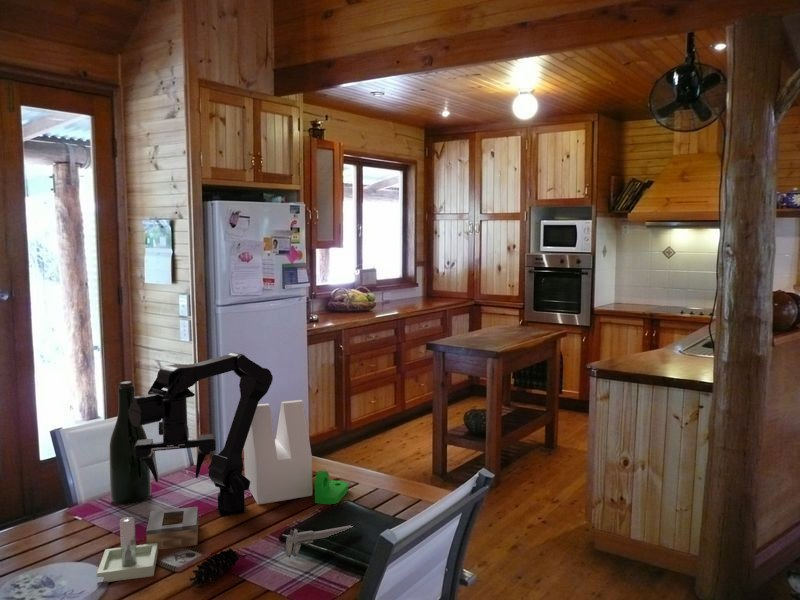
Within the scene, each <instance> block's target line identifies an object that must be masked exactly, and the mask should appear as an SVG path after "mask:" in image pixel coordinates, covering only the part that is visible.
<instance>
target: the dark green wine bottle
mask: <svg viewBox="0 0 800 600" xmlns="http://www.w3.org/2000/svg"><path fill="white" fill-rule="evenodd" d="M117 394H118V395H117V396H118V408H117V409H118V411H117V417H116V422H115V424H114V428H113V430H112V433H111V436H110V441H109V451H108V452H109V455H108V456H109V459H108V460H109V485H110V486H109V489H110V491H109V493H110V500H111V502H112V503H113V504H116V505H122V506H124V505H125V506H127V505H134V504H138V503H141V502H144V501H146V500H148V499H149V498H150V497H151V495H152V481H151V477H152V476H151V470H150V468H149V467H148V465H147V464H146V463H145V461H140V458H135V457H134V446H135V443H136V442H137V441H138V440H145V439H148V436H147V433H146V431H145V428H144V427H143V426H144V425H142V426H137V427H135V426H134V425H133V424H132V423H131V421H130V419H129V414H128V410H129V408H130V405H131V403H132V402H133V397H136V388H135V386H134V385H133V381H131V380H128V381H127V380H126V381H125V380H124V381H121V382H119V386H118V388H117Z"/></svg>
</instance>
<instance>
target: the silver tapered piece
mask: <svg viewBox="0 0 800 600" xmlns="http://www.w3.org/2000/svg"><path fill="white" fill-rule="evenodd" d="M135 523H136V521H135V517H133V516H126V517H123V518H121V519H119V532H120V534H119V536H120V547H121V559H122V566H123V567H131V566H134V565H135V564H136V563H137V560H136V545H137V542H136V540H137V539H136V524H135Z"/></svg>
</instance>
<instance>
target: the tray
mask: <svg viewBox="0 0 800 600" xmlns="http://www.w3.org/2000/svg"><path fill="white" fill-rule="evenodd" d="M158 554H159V550H158V543H152V544H147V543H144V544H139V545H137V544H136V560H137V563H136V564H135V565H134V566H131V567H123V566H122V559H121V546H120V547H114V548H105V550H104V552H103V555H102V558H101V561H100V563H99V566H98V569H97V571H96V578H97V577H104V579H105V580H106V581H107V582H106V583H108V582H110V583H111V582H116V581H125V580H131V579H133V580H134V579H139V578H140V579H141V578H147V577H148V578H149V577H154V574H155V571H156V564H157V559H158Z"/></svg>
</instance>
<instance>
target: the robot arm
mask: <svg viewBox="0 0 800 600" xmlns="http://www.w3.org/2000/svg"><path fill="white" fill-rule="evenodd" d="M229 372H233V373H234V374H235V375H236V376H237V377H239V378H240V379H239V384H238V385H239V393H240V398H239V401H238V405H237V407H236V410H235V413H234V417H233V418H232V422H231V425H230V429H229V431H228V434H227V438H226V440H225V443H224V447H223V448H222V449H221V451H220V452H219V453H218V454H216V453H213V454H212V457H211V461H210V462H209V463H210V464H209V466H208V467H207V469H208V476H209V477H208V478H209V479H210V481H211V482H213V484H214V486H215V487H216V488H219V492H218V493H217V512H219V517H225V516H234V515H243V514H246V503H245V502H246V501H245V497H246V496H245V491H248V490H250V489H249V486H250V480H248V479H247V478H246V477H245V475H243V469H244V461H243V459H244V458H243V452H244V445H245V442H246V439H247V436H248V433H249V430H250V427H251V424H252V421H253V417H254V414H255V411H256V408H257V405H258V404H259V402H260V401H261V400H262V399H263V397H264V396H265V395H267V393H268V392H269V390H270V388H271V385H272V382H273V378H274V377H273V374H272V371H271V370H270V369H268V368H265V367H262V366H261V365H260V364H258V363H256V362H254V361H252V360H251V359H250V358H249V357H247V356H246V355H245V354H244V353H238V352H237V353H236V352H230V353H228V354H226V355H221V356H218V357H214V358H210V359H206V360H203V361H200V362H196V363H189V364H184V363H183V364H181V363H180V364H179V363H177V364H166V365H163V366H162V367H160V368H159V370H158V372H157V374H156V378H155V380H154V382H153V383H152V385H151V387H150V388H149V390H148V392H147V394H145V395H137V396H136V395H135V397H133V402H132V403H131V405H130V408H129V410H128V414H129V419H130V421H131V423H132V424H133V425H134V426H135V427H137V426H145V425H149V424H150V425H151V424H154V423H158V435H159V436H162V441H161V442H154V439H153V438H147V439H145V440H138V441H137V442H136V443H135V446H134V457H135V458H140V461H145V463H146V464H147V465H148V467H149V468H150V473H151V474H152V477H153V478H154V480H155V482H156V483H159V471H158V466H157V465H158V463H157V461H156V452H158V451H169V450H171V451H172V450H182V449H183V450H184V449H191V448H197V458H196V465H195V466H196V467H195V479H198V477H199V474H200V471H201V469H202V465H203V462H204V461H205V459H206V456H208V455H211V452H214V451H216V449H217V448H216V447H217V444H216V443H217V439H216V436H217V435H215V434H214V433H210V434H209V433H206V434H199V435H198V439H196V438H195V439H190V437H189V430H190V429H189V426H188V405H187V402H188V401H187V399H189V398H192V397H194V396H195V393H194V392H193V391H191V390H190V389H189V388H191V387H193V386H194V385H195V384H196V383H197V382H200V381H201V380H206V379H208V378H212V377H215V376H218V375H221V374H225V373H229ZM164 389H166V390H164Z"/></svg>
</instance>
